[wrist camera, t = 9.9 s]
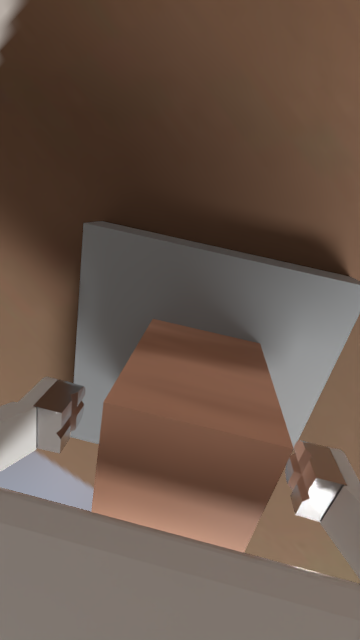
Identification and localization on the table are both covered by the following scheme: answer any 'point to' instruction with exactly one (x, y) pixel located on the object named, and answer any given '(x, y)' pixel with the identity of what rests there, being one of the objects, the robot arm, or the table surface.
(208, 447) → the terracotta block
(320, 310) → the slate base
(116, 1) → the table surface
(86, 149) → the table surface
